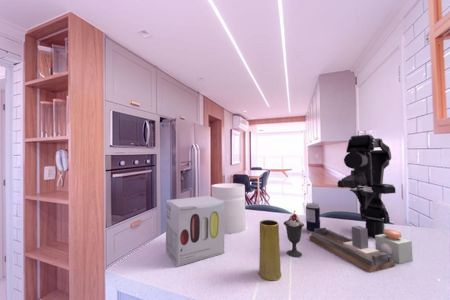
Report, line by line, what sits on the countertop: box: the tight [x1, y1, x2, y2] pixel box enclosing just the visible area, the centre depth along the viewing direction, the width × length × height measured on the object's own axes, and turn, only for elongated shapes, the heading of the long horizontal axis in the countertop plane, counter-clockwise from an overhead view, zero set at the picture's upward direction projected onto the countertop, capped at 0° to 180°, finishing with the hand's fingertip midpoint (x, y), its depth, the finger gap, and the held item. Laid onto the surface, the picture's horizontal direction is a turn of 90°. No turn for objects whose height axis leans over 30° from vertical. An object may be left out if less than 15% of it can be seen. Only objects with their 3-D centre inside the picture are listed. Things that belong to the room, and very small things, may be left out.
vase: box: [258, 219, 282, 281], centre depth 56 cm, size 6×6×14 cm
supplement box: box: [165, 195, 225, 268], centre depth 70 cm, size 17×13×18 cm
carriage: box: [343, 225, 379, 259], centre depth 64 cm, size 5×8×8 cm, turn 17°
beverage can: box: [305, 202, 321, 233], centre depth 88 cm, size 6×6×12 cm
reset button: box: [384, 228, 402, 241], centre depth 65 cm, size 4×4×5 cm
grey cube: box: [374, 234, 414, 265], centre depth 64 cm, size 6×7×6 cm
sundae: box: [283, 210, 305, 258], centre depth 67 cm, size 7×7×15 cm
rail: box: [309, 227, 395, 273], centre depth 69 cm, size 10×24×4 cm, turn 17°
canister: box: [211, 182, 246, 235], centre depth 94 cm, size 16×16×20 cm
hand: (364, 209), depth 75 cm, fingers closed
